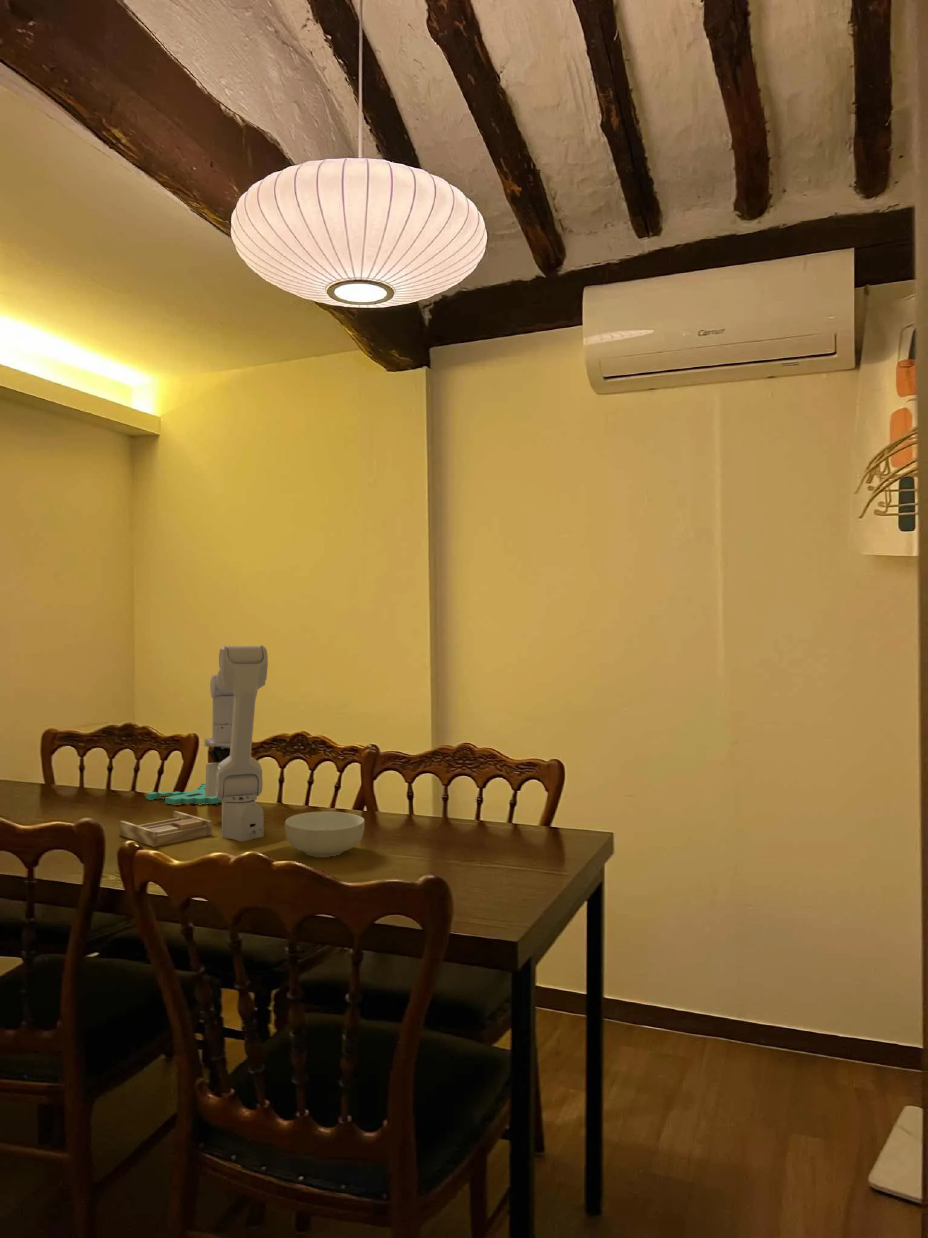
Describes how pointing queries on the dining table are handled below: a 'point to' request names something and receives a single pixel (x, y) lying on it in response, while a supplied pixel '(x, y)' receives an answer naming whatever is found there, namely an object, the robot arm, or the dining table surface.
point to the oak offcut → (187, 824)
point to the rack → (152, 839)
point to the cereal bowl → (324, 832)
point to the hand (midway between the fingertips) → (224, 778)
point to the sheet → (211, 778)
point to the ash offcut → (164, 829)
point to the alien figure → (185, 796)
